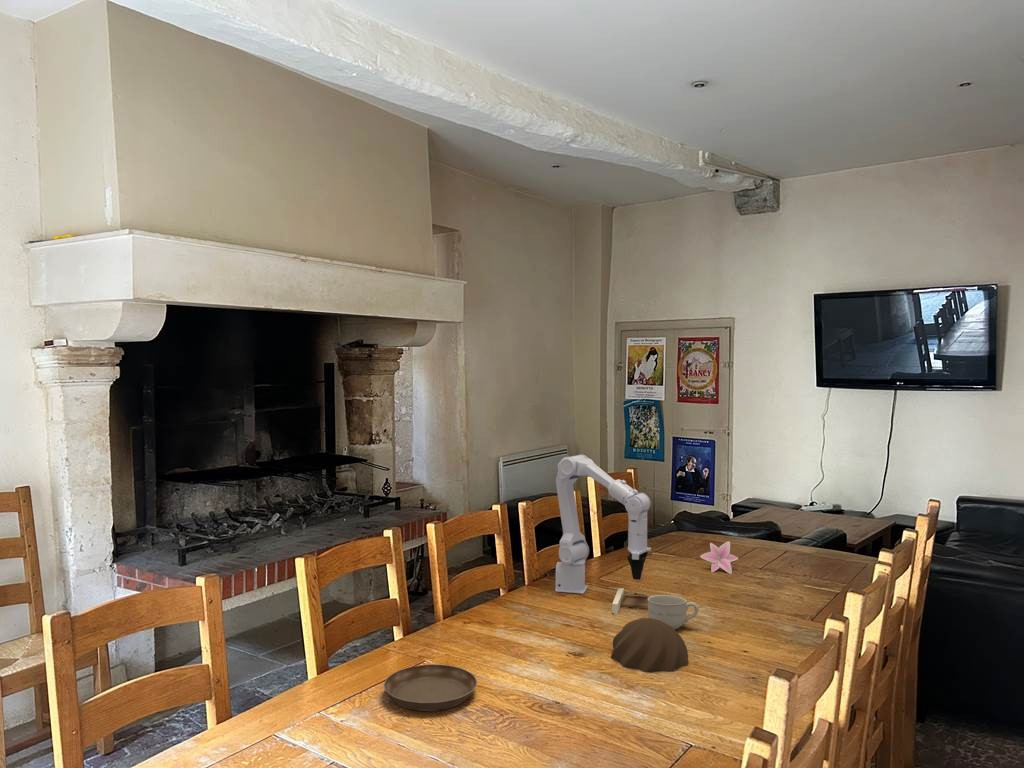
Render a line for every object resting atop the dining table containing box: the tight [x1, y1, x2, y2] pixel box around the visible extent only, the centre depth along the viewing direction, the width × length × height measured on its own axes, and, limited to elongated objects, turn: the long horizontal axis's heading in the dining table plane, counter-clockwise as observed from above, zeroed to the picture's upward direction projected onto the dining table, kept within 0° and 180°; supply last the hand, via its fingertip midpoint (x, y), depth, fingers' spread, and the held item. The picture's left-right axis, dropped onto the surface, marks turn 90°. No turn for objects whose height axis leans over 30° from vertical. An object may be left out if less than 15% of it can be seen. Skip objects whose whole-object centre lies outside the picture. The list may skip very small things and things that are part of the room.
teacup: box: [647, 594, 699, 631], centre depth 209 cm, size 14×11×8 cm
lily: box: [700, 541, 739, 575], centre depth 269 cm, size 12×12×10 cm
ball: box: [630, 571, 645, 583], centre depth 230 cm, size 4×4×4 cm
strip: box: [611, 587, 625, 615], centre depth 228 cm, size 2×16×3 cm, turn 165°
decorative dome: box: [610, 617, 689, 673], centre depth 188 cm, size 19×20×10 cm
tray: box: [620, 594, 650, 610], centre depth 230 cm, size 9×9×1 cm
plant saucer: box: [383, 664, 478, 712], centre depth 166 cm, size 21×21×3 cm
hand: (637, 577), depth 230 cm, fingers closed on ball, 4 cm apart
